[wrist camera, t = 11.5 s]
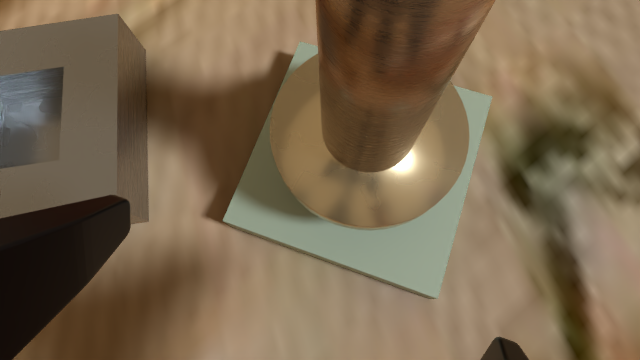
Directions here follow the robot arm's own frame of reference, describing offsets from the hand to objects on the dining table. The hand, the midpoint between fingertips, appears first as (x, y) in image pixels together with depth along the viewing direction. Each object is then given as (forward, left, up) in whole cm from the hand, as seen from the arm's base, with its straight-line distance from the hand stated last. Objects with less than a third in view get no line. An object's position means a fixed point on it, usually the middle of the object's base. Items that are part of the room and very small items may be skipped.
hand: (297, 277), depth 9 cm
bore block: (+14, +7, -10) cm, 19 cm away
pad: (+3, -5, -10) cm, 12 cm away
